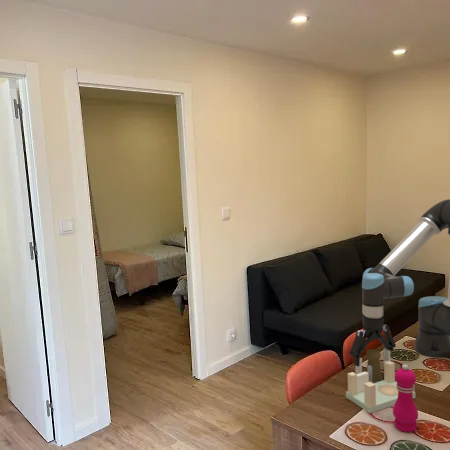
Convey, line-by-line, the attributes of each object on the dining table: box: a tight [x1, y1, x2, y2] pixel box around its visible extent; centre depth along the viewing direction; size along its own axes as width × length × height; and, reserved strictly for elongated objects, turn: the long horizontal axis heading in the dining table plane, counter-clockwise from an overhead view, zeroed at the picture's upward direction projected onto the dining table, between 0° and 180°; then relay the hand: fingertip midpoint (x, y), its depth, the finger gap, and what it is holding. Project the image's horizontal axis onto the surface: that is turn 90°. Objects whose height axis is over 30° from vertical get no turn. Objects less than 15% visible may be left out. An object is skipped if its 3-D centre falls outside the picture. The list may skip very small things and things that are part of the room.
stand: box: [345, 360, 416, 414], centre depth 155 cm, size 20×12×10 cm, turn 114°
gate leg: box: [347, 371, 369, 395], centre depth 156 cm, size 8×2×7 cm, turn 114°
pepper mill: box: [392, 364, 419, 433], centre depth 137 cm, size 7×7×20 cm
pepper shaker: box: [365, 348, 383, 383], centre depth 169 cm, size 6×6×11 cm
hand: (373, 369), depth 169 cm, fingers open, 13 cm apart
